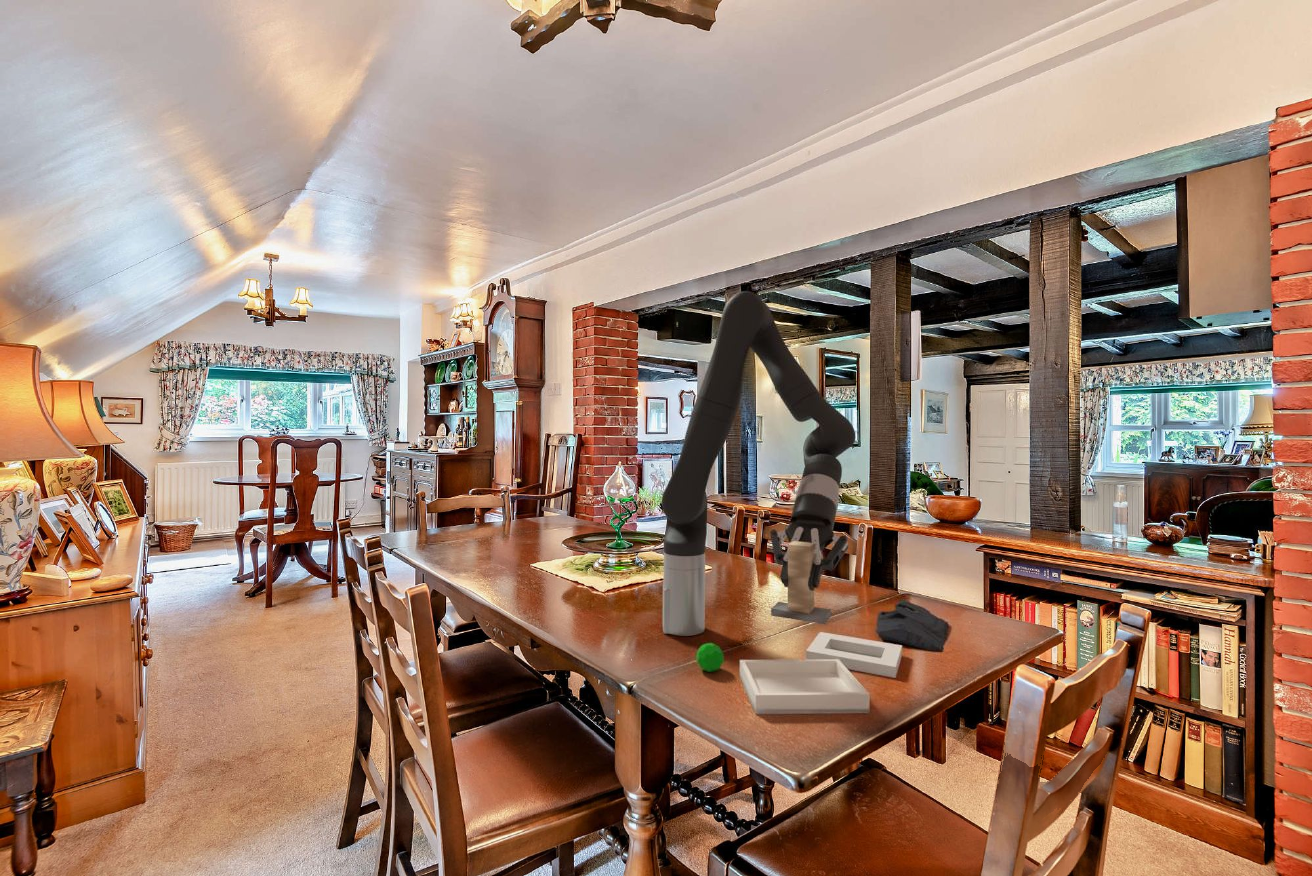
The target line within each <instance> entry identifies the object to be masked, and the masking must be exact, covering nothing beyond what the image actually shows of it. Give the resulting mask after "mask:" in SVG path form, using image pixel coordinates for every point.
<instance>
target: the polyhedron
mask: <svg viewBox="0 0 1312 876" xmlns="http://www.w3.org/2000/svg"><path fill="white" fill-rule="evenodd" d="M724 655H725V654H724V653H723V651H722V650H721V648H720V646H718V645H717V644H715V643H712V642H709V643H708V642H707V643H704V644H702V645H700V647H699V648H698V649H697V652H696V658H695V659H696V662H697V663H698V666H699V667H700V669H701V670H704V671H705V672H707V673H712V672H716V671H717V670H720V668H721V667H722V666H723V663H724V660H725V659H724V657H725V656H724Z"/></svg>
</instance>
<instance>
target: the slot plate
mask: <svg viewBox="0 0 1312 876" xmlns="http://www.w3.org/2000/svg"><path fill="white" fill-rule="evenodd" d="M902 657H903V645H901V644H897V643H896V644H894V643H890V642H884V641H877V640H873V639H872V640H870V639H865V638H859V637H853V636H848V635H841V634H835V633H829V632H823V631H820V632H819V633H818V634H817V635H816V637H815V638H814V640H812V642H811V643H810V644H809V646H808V647H807V648H806V650H805V659H839V660H840V661H841V662H842V664H843V665H844V666H845V667H846V668H847V669H848V670H849V671H850V670H852V671H856V672H863V673H867V674H871V675H878V676H883V677H888V678H893V679H896V678H897V675H898V671H899V667H900V664H901V660H902Z"/></svg>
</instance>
